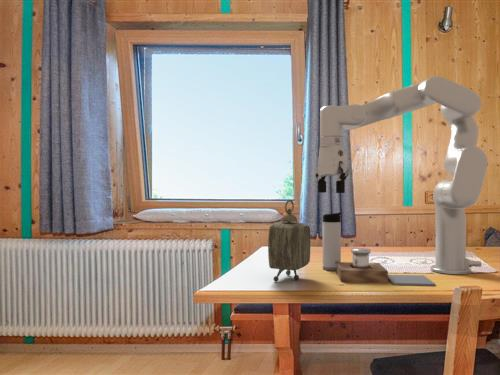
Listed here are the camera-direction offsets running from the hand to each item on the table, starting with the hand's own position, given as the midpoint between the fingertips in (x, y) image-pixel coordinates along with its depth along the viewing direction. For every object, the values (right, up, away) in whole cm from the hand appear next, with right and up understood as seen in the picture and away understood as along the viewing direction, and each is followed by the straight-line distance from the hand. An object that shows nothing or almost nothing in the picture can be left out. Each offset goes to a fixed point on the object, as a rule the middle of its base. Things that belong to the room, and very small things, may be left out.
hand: (331, 192), depth 149 cm
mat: (+21, -27, -15) cm, 37 cm away
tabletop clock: (-15, -27, -12) cm, 33 cm away
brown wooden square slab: (+8, -27, -9) cm, 30 cm away
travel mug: (+1, -27, +5) cm, 28 cm away
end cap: (+8, -27, -9) cm, 30 cm away
